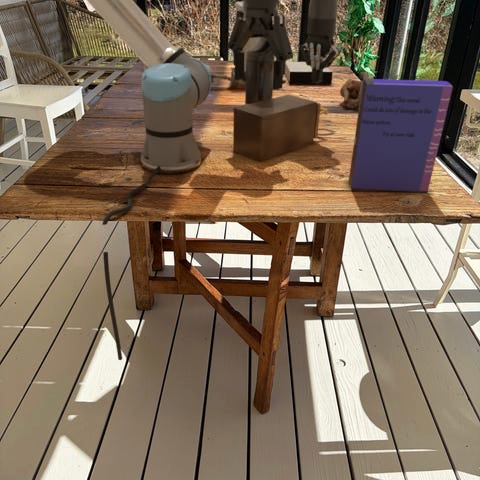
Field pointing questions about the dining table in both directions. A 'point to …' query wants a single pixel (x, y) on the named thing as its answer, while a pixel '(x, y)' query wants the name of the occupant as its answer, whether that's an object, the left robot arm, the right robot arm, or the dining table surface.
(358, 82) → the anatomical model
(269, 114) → the cabinet
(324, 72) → the disc drive
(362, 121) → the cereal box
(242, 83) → the figurine
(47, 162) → the dining table surface
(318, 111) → the drawer
